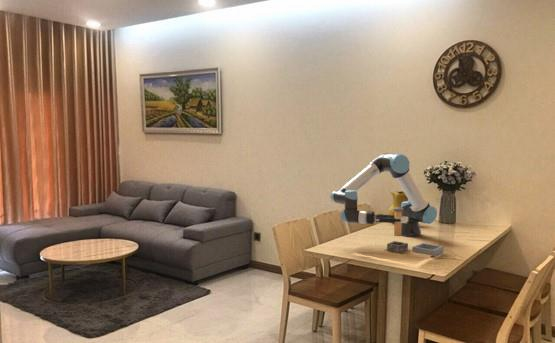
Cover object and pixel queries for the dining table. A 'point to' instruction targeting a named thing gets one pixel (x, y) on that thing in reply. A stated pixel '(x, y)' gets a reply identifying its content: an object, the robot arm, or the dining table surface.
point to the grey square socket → (397, 247)
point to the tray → (429, 249)
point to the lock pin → (397, 225)
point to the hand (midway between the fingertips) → (407, 220)
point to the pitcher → (397, 201)
